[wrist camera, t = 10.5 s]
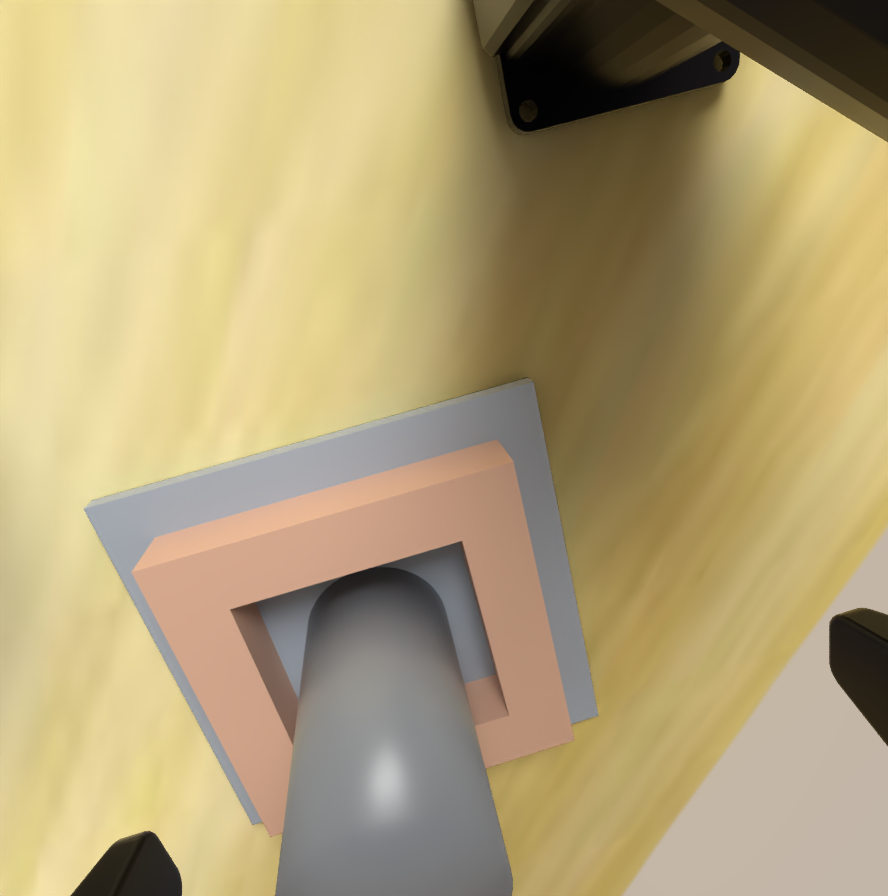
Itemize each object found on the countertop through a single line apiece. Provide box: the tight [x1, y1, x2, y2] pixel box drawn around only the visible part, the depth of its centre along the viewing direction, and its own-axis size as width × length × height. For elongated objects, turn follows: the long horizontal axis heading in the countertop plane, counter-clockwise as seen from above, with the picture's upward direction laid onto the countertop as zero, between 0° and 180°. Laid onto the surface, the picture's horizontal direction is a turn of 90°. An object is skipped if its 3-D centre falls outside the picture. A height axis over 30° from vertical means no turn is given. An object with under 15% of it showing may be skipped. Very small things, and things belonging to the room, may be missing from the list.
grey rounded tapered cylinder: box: [275, 567, 513, 896], centre depth 16 cm, size 5×5×9 cm
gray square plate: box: [84, 378, 598, 837], centre depth 19 cm, size 14×14×3 cm
